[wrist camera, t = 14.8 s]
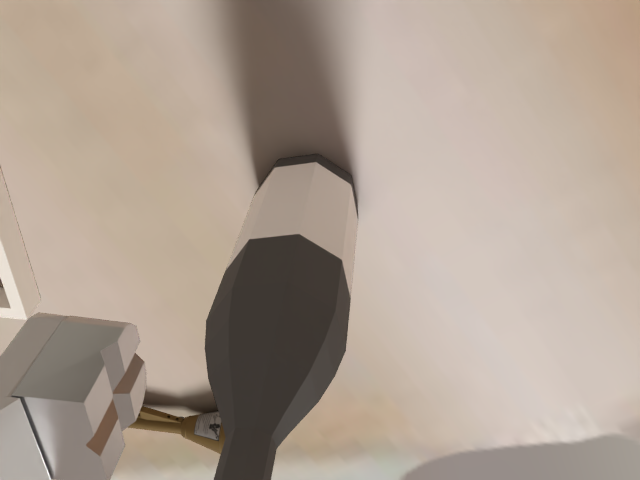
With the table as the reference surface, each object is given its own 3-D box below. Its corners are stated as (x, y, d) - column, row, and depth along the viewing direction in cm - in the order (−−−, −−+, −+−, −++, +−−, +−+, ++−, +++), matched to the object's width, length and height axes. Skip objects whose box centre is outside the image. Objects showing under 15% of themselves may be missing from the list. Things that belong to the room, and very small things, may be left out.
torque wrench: (-34, 397, 68) (-47, 366, 66) (265, 434, 64) (263, 401, 61) (-63, 429, 64) (-78, 397, 62) (254, 470, 60) (251, 437, 57)
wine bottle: (371, 164, 44) (341, 590, 20) (347, 250, 49) (298, 679, 24) (264, 140, 44) (98, 540, 19) (250, 228, 49) (103, 640, 24)
